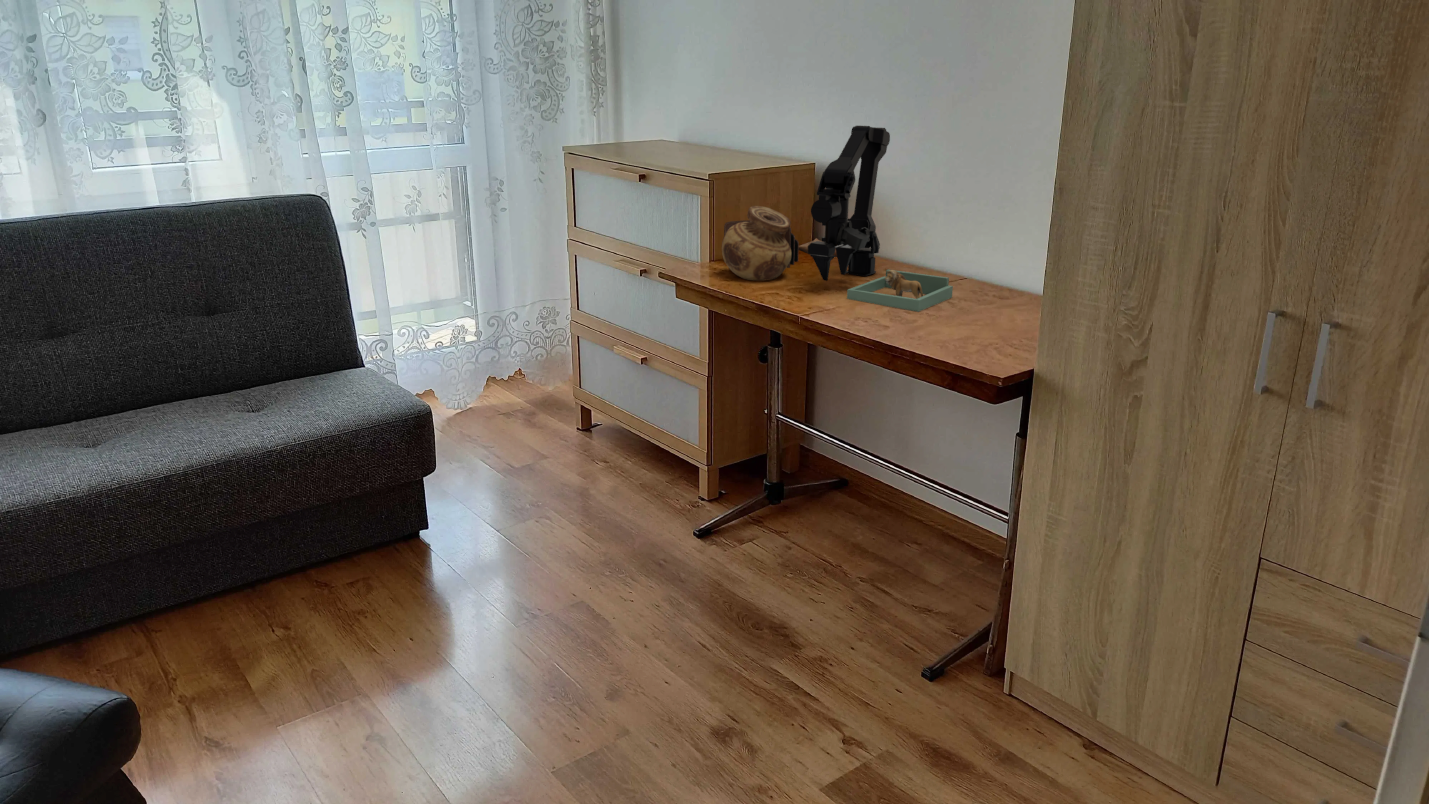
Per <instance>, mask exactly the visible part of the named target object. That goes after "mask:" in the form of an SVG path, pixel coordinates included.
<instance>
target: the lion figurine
mask: <svg viewBox="0 0 1429 804" xmlns="http://www.w3.org/2000/svg"><path fill="white" fill-rule="evenodd" d="M889 270H890V271H887V277H886V276H885V277H886V278H885V281H886V283H888V285H890V286H891V287H892V288H891V289H892V290H893V291H895V296H901V297H903V292H905V293H912V295H913V297H915V298H914V299H918V298H920V297H922V296H924V294H923V293H922V288H921V285H920V283H919V282H918V281H908V280H907V279H905V277H904V276H903V275H902V274H900V273H899V272H897V271H898V270H896V271H895V269H889ZM911 291H912V292H911Z"/></svg>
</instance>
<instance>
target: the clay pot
mask: <svg viewBox="0 0 1429 804" xmlns="http://www.w3.org/2000/svg"><path fill="white" fill-rule="evenodd" d="M746 216H747V220H750V221H751V222H740V223H737V224H735V225H733V226H732V227H730V228H729V229H728V231H727V232H726V234H725V235H724V234H723V239H722V243H721V253H722V254H721V255H722V259H723V262H724V261H725V262H724V264H726V266H727V267H728V269H729V270H730V271H731V272H732V273H733V274H735V275H736V276H737V277H740V278H741V279H743V280H747V281H771V280H775V279H777V278H778V277H779V276H781V274H783V272H784V271H785V270H786V269H787V268H786V267H787V266H788V264H789V262H790V260H791V255H792V253H791V248H790V246H789V244H788V242H787V241H786V239H785V234H786V232H787V231H788V229H789V227H790V228H791V224H792V221H791V219H790V218H789V217H787V216H786V215H784V214H783V213H782V212H779V211H777V210H775V209H772V208H771V207H768V206H762V205H761V206H760V205H751V206H750V207H748V210H747V215H746Z"/></svg>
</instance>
